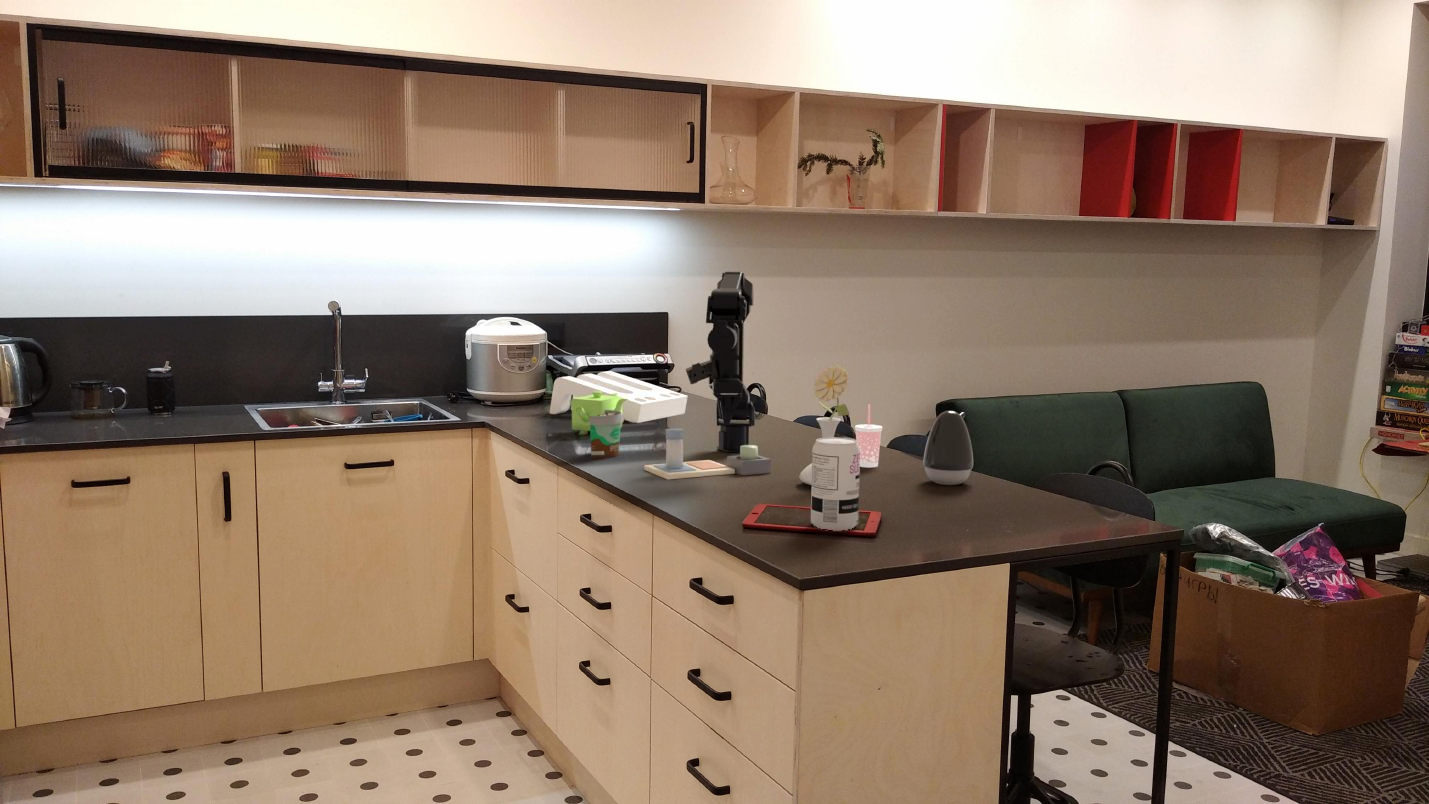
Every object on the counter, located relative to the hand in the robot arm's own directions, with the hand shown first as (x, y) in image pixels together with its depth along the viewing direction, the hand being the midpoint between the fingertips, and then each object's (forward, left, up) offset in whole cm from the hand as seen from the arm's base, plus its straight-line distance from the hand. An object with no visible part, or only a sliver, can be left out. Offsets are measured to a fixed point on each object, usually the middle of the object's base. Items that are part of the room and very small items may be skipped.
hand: (724, 421), depth 234 cm
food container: (+15, -29, -11) cm, 35 cm away
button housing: (-5, +2, -11) cm, 12 cm away
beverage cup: (-33, +7, -11) cm, 36 cm away
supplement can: (+6, +52, -11) cm, 53 cm away
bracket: (-14, -95, -12) cm, 97 cm away
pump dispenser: (-37, +30, -11) cm, 49 cm away
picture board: (+7, -3, -11) cm, 13 cm away
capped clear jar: (+10, -3, -10) cm, 15 cm away
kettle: (+5, -61, -11) cm, 62 cm away
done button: (-5, +2, -9) cm, 11 cm away
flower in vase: (-12, +23, -11) cm, 28 cm away
